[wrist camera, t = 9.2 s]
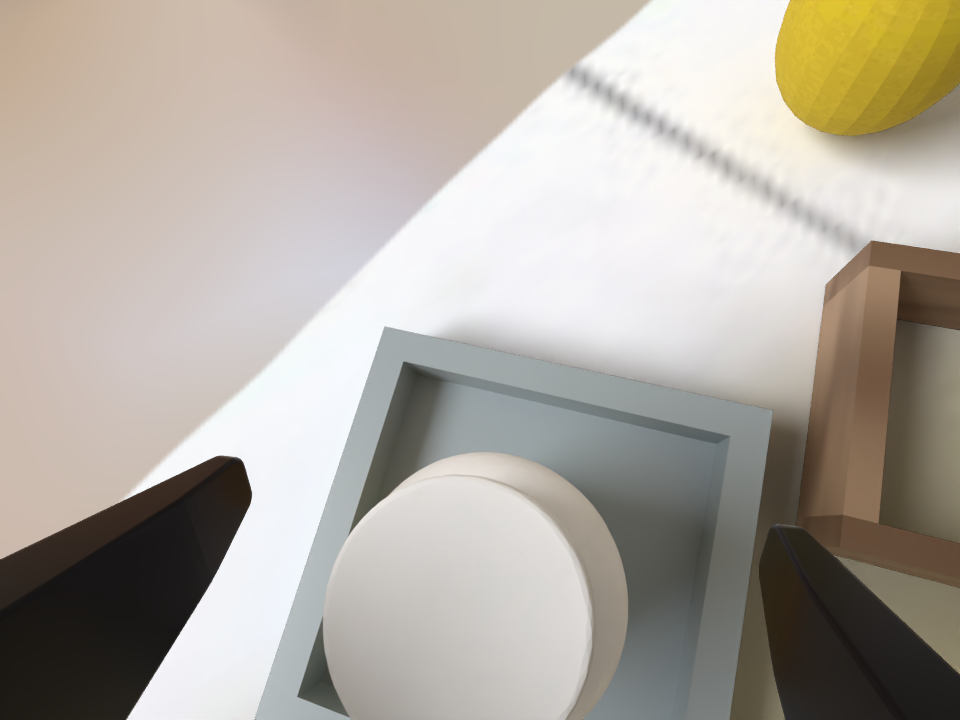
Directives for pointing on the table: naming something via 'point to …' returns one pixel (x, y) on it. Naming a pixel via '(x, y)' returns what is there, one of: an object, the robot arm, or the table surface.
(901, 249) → the brown wooden open box
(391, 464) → the parts tray
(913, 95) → the lemon
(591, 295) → the table surface
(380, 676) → the supplement bottle
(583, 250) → the table surface
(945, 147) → the table surface
